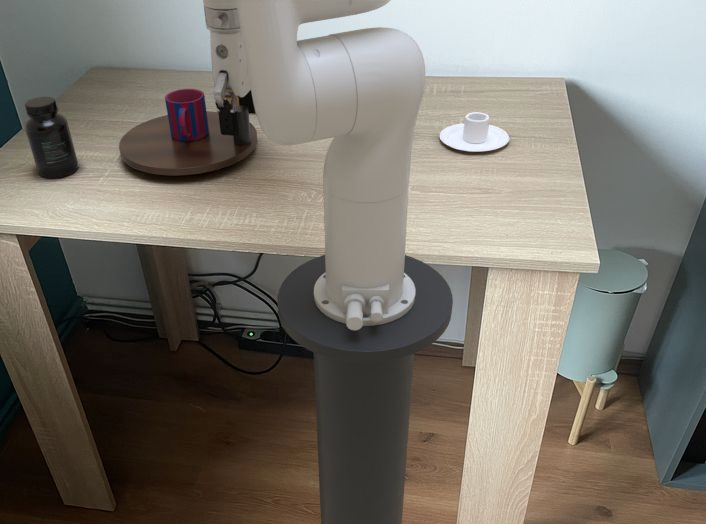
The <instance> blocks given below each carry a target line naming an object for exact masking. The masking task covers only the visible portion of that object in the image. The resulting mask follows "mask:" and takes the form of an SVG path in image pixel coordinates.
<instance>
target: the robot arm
mask: <svg viewBox="0 0 706 524" xmlns="http://www.w3.org/2000/svg"><path fill="white" fill-rule="evenodd" d="M202 2H203V11H204V20H205V27H206V29H207V30H208V31H210V32H209V36H210V37H209V38H210V61H211V62H210V63H211V71H212V81H213V88H214V89H213V99H214V100H215V103H214V104H215V106H216V107H215V108H216V112H218V114H219V123H220V132H221V134H222V135H230V136H238V135H239V134H240V127H239V117H238V111H235V110H236V103H237V96H238V97H239V106H240V105H241V106H246V107H248V112H249V113H255V115H256V119H257V123H258V125H259V127H260V129H261V131H262V133H263V134H264V136H265V137H266V138H267V139H268V140H269V141H270V142H272V143H274V144H275V145H278V146H285V147H286V146H289V147H290V146H298V145H302V144H308V143H313V142H317V141H322V140H327V139H331V138H332V140H331V142H330V145H329V146H328V148H327V152H326V154H325V158H324V162H323V168H322V169H323V170H322V187H323V188H322V189H323V226H324V227H323V228H324V229H323V230H324V255H325V268H326V272H325V273H324V274H323V275H321V276H320V277H319V279H318V280H317V281H316V284H315V286H314V301H315V303H316V306H317V307H318V308H319V310H320V311H321V312H322V313H324V314H325V315H326V316H328V317H329V318H331V319H333V320H335V321H338V322H341V323H344V324H346V325H347V327H348V328H349V329H351V330H359V329H360V328H362V326H375V325H381V324H385V323H389V322H392V321H394V320H396V319H398V318H400V317H402V316H403V315H405V314H406V313H407V312H408V311H409V310H410V309H411V308H412V306H413V304H414V301H415V292H416V289H415V285H414V283H413V281H412V280H411V278H410V277H409V276H408V275H406V274H405V273H404V262H405V255H406V242H407V227H408V226H407V222H408V205H409V187H410V178H411V177H410V175H411V174H410V173H411V163H412V161H411V160H412V152H413V151H412V150H413V142H414V135H415V130H416V125H417V121H418V117H419V113H420V109H421V106H422V102H423V97H424V93H425V86H426V63H425V58H424V55H423V52H422V50H421V48H420V46H419V44H418V43H417V42H416V40H415V39H414V38H413V37H412V36H411V35H409V34H408V33H407V32H405V31H403V30H400V29H398V28H393V27H382V26H380V27H379V26H378V27H366V28H359V29H354V30H347V31H343V32H336V33H330V34H328V35H322V36H317V37H311V38H304V39H299V40H298V30H299V27H300V25H303V24H309V23H315V22H319V21H320V22H322V21H326V20H333V19H339V18H345V17H351V16H356V15H360V14H361V15H362V14H365V13H369V12H372V11H375V10H378V9H381V8H383V7H384V6H386V5H387V4H389V3H390V2H391V0H202ZM226 90H233V92H225V91H226ZM225 97H226V98H231V104H230V103H229V102H228V100H226V98H225Z"/></svg>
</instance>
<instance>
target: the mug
mask: <svg viewBox="0 0 706 524" xmlns="http://www.w3.org/2000/svg"><path fill="white" fill-rule="evenodd" d="M164 101H165V108H166V113H167V114H166V115H168V120H169V126H170V132H171V137H172V138H173V139H175V140H178V141H185V142H186V141H196V140H199V139H202V138H204V137H206V136H207V135H208V134H209V127H208V119H207V105H206V96H205V93H204V92H203V91H202V90H201V89H197V88H180V89H175V90H172V91H170V92H168V93H167V94H165V96H164Z"/></svg>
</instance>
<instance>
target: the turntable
mask: <svg viewBox="0 0 706 524" xmlns="http://www.w3.org/2000/svg"><path fill="white" fill-rule="evenodd" d="M206 111H207V110H206ZM235 111H238V117H239V127H240V134H239V135H238V136H230V135H222V134H221V132H220V123H219V114H218V112H217V111H211V110H210V111H207V119H208V127H209V134H208V135H207V136H206V137H204V138H202V139H199V140H196V141H186V142H185V141H178V140H175V139H173V138H172V137H171V132H170V126H169V120H168V114H165V115H161V116H158V117H154V118H152V119H149V120H146V121H143V122H141V123H139V124H137V125H135V126H134V127H132V128H131V129H129V130H128V131H127V132H126V133H125V134H124V135H122V137H121V139H120V141H119V143H118V149H119V150H118V151H119V153H120V158H121V159H122V161H123V162H124V163H125V164H126V165H128V166H129V167H131V168H133V169H134V170H136V171H140V172H144V173H147V174H152V175H159V176H160V175H161V176H189V175H191V176H192V175H198V174H199V175H200V174H204V173H210V172H214V171H217V170H221V169H224V168H227V167H229V166H232V165H234V164H236V163H239V162H240V161H242V160H244V159H245V158H247V157H248V156H250V154H251V153H252V152H253V151H254V150H255V148H256V147H257V144H258V132H257V129H256V127H255V125H253V123H251V122H250V114H249V113H250V112H248V107H246V106H241V105H240V106H236V110H235Z"/></svg>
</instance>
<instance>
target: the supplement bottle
mask: <svg viewBox="0 0 706 524" xmlns="http://www.w3.org/2000/svg"><path fill="white" fill-rule="evenodd" d="M24 108H25V111H26V115H27V117H28V118H27V119H26V121H25V123H24V130H25V133H26V138H27V140H28V143H29V146H30V150H31V153H32V156H33V160H34V163H35V166H36V170H37V173H38V174H39V175H40V176H42V177H43V178H47V179H60V178H64V177H67V176H70V175H72V174H74V173H75V172H77V170H78V168H79V162H78V157H77V153H76V150H75V146H74V141H73V138H72V135H71V130H70V127H69V123H68V119H67V117H65V115H64V114H62V113H60V112H59V107H58V105H57V101H56V99H55V98H54V97H52V96H46V95H45V96H37V97H32V98H30V99H28V100H26V102H25V103H24Z"/></svg>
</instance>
